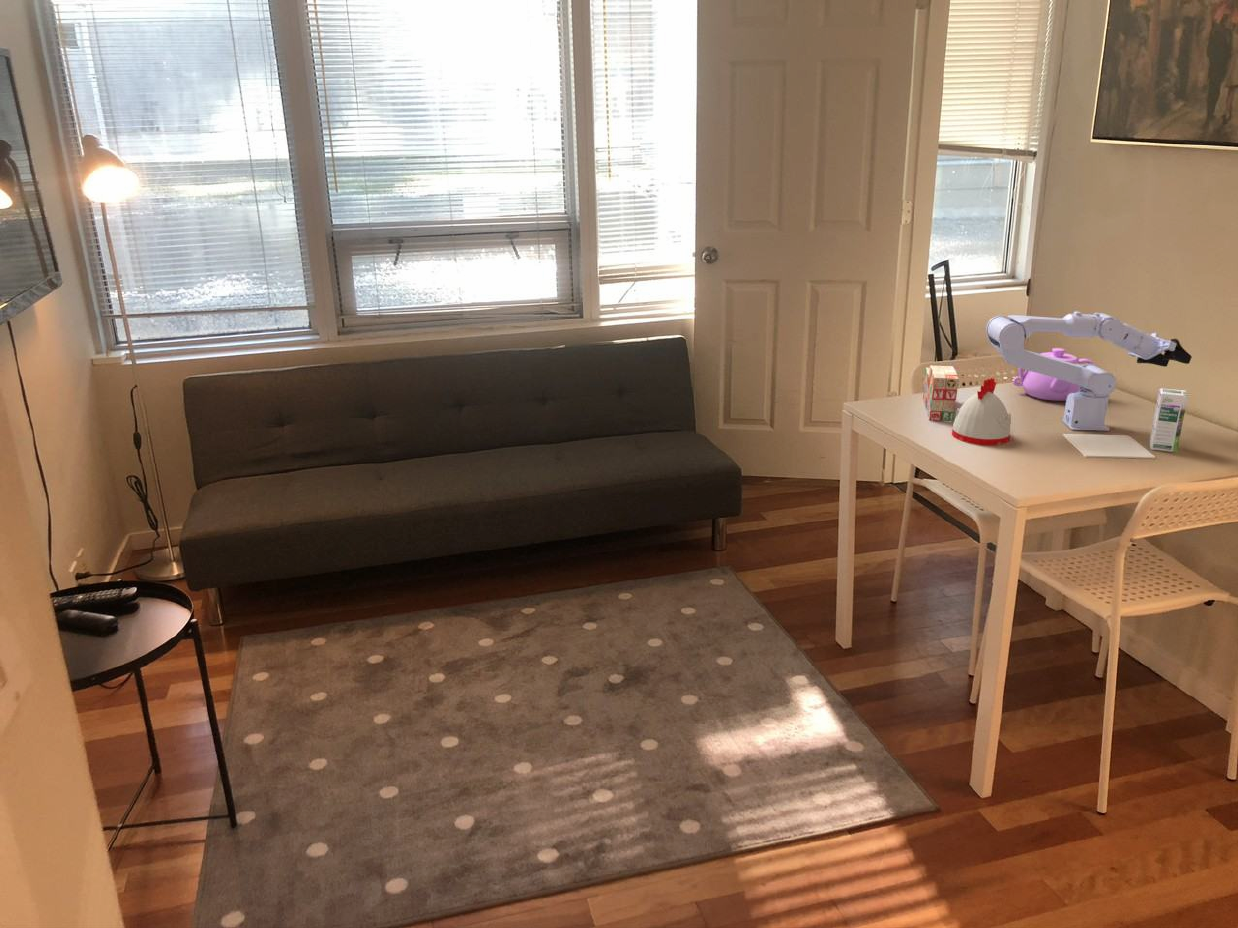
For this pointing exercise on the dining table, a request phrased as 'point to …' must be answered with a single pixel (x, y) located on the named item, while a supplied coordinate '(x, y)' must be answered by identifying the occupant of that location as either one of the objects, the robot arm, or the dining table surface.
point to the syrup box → (1168, 420)
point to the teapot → (1049, 379)
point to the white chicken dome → (983, 418)
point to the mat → (1108, 446)
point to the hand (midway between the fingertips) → (1178, 361)
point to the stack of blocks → (940, 392)
